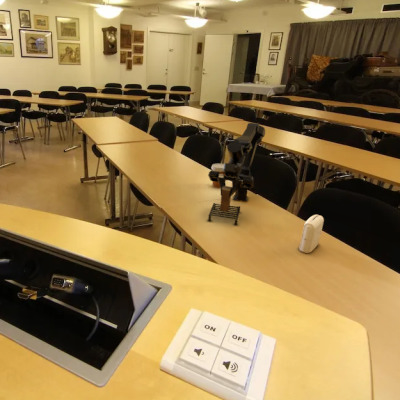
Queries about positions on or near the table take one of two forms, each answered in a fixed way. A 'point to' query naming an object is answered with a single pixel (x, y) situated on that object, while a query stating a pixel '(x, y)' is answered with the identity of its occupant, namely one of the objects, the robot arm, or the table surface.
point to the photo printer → (311, 233)
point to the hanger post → (225, 199)
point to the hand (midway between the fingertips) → (225, 196)
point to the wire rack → (224, 212)
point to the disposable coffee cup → (219, 168)
